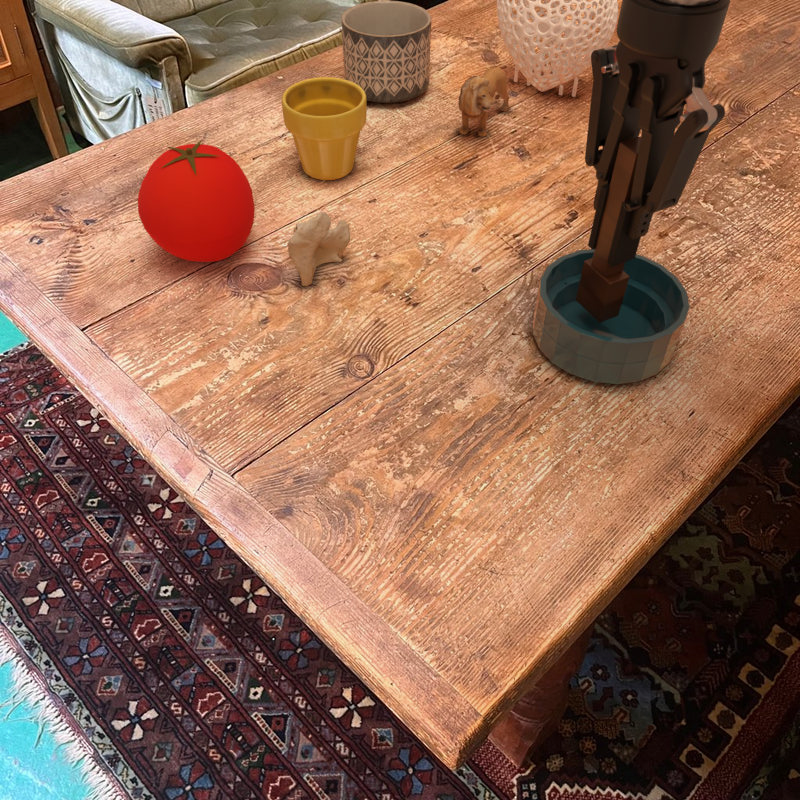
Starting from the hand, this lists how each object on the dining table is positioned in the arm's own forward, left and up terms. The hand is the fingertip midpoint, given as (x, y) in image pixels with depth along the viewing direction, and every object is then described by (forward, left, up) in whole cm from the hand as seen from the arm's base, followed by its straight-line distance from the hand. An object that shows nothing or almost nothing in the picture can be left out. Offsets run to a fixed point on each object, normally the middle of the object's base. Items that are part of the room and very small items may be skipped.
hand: (611, 251), depth 73 cm
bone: (+23, +21, -10) cm, 33 cm away
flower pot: (+41, +11, -10) cm, 44 cm away
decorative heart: (+46, -27, -10) cm, 54 cm away
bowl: (-2, 0, -10) cm, 10 cm away
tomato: (+31, +31, -10) cm, 45 cm away
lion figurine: (+41, -13, -10) cm, 44 cm away
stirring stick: (0, 0, -7) cm, 7 cm away
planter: (+57, -6, -10) cm, 58 cm away
